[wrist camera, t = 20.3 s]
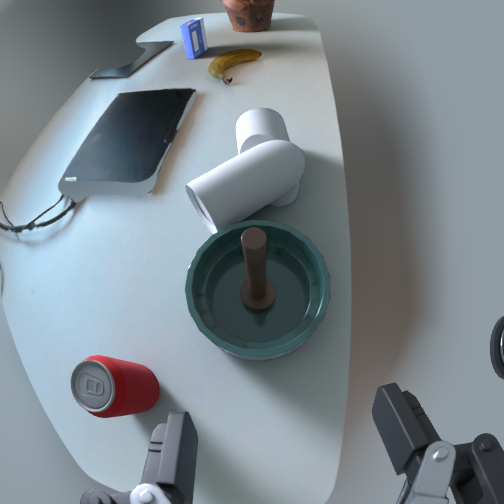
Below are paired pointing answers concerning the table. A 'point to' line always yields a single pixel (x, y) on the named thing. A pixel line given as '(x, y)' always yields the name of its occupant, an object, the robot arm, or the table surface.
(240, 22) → the brown pot
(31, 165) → the table surface
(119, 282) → the table surface
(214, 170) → the elbow connector
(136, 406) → the beverage can
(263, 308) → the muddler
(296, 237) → the bowl
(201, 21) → the walkman
